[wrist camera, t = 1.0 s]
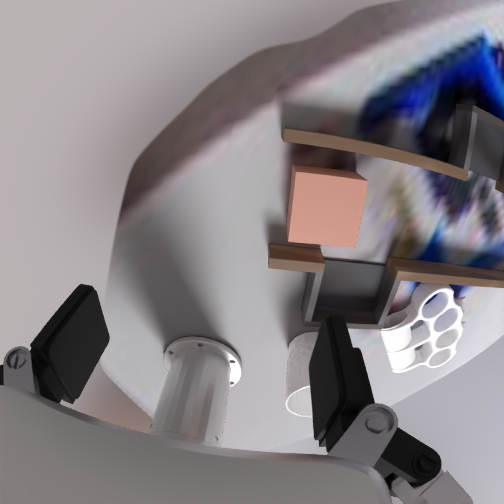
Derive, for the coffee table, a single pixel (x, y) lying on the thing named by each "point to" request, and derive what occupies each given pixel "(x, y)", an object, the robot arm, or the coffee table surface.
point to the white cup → (299, 374)
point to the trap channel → (396, 269)
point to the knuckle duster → (424, 329)
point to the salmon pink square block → (325, 206)
